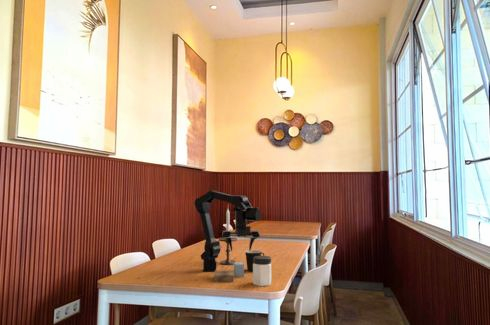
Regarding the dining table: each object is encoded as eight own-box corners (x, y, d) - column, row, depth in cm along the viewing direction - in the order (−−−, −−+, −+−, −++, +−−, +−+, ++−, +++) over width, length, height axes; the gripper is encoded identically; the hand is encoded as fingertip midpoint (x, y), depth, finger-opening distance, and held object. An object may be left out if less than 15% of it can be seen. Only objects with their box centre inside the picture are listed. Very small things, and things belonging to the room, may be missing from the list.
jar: (275, 283, 163) (275, 257, 164) (264, 287, 157) (264, 259, 158) (260, 280, 170) (260, 254, 170) (249, 283, 164) (249, 257, 164)
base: (214, 281, 167) (214, 275, 167) (215, 277, 176) (215, 270, 176) (233, 281, 167) (233, 275, 167) (233, 277, 176) (233, 270, 176)
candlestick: (239, 264, 205) (239, 203, 207) (221, 265, 202) (221, 203, 204) (234, 261, 215) (234, 202, 218) (216, 262, 212) (216, 203, 214)
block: (233, 276, 177) (233, 264, 177) (234, 274, 182) (234, 262, 182) (243, 276, 177) (243, 264, 177) (243, 274, 182) (243, 262, 182)
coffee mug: (247, 272, 185) (247, 253, 185) (243, 269, 193) (243, 250, 194) (269, 271, 188) (268, 252, 189) (263, 268, 196) (263, 249, 197)
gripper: (223, 221, 174) (222, 254, 173) (260, 221, 175) (260, 253, 174) (222, 219, 185) (222, 250, 184) (258, 219, 186) (258, 249, 185)
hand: (240, 251), depth 181 cm, fingers open, 9 cm apart
